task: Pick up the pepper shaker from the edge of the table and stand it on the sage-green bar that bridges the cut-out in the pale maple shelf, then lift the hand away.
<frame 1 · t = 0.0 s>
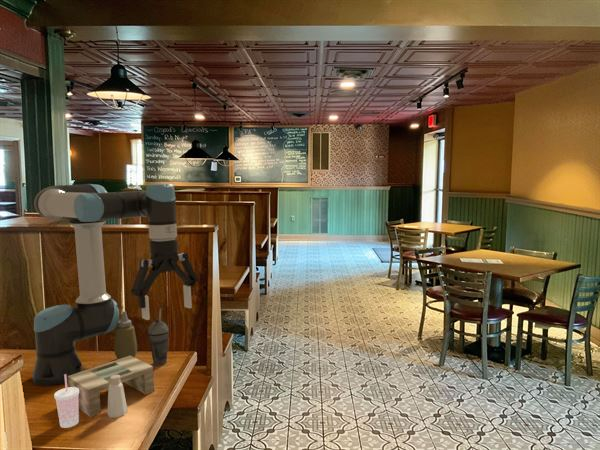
hand: (167, 313, 130), 28 cm above the table, tool pointing down, fingers open, 13 cm apart
squeeze bottle: (126, 359, 169), on the table, touching arm
cut-out shelf: (112, 396, 141), on the table
beverage cup: (160, 363, 165), on the table
pepper shaker: (117, 413, 130), on the table
beverage cup 2: (69, 423, 126), on the table
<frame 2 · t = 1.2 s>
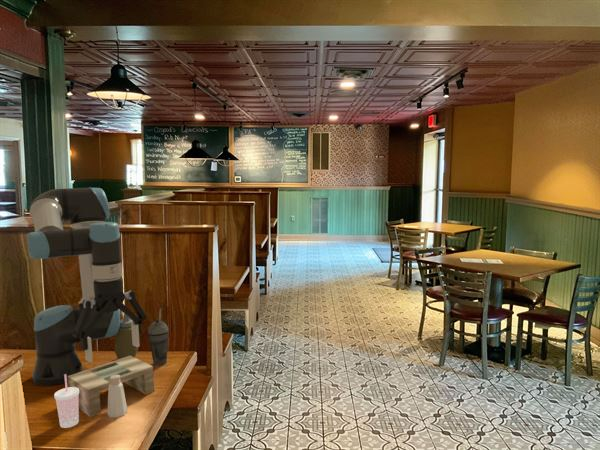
hand: (113, 353, 128), 18 cm above the table, tool pointing down, fingers open, 13 cm apart
nothing on the table moved.
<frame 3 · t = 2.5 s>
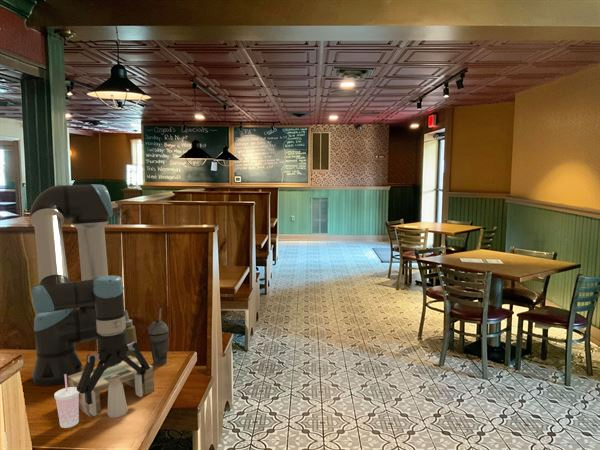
hand: (117, 404, 130), 3 cm above the table, tool pointing down, fingers open, 13 cm apart
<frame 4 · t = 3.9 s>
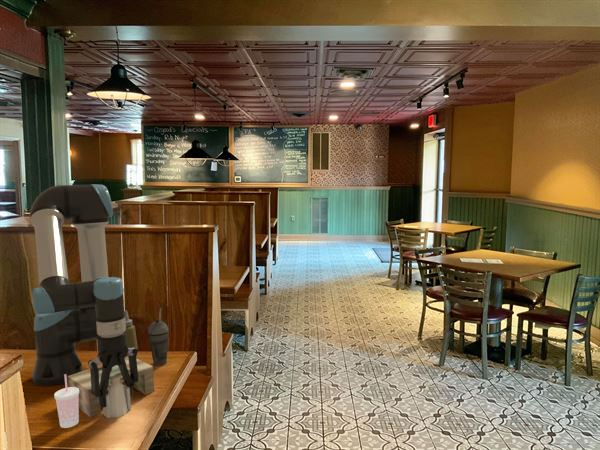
hand: (117, 412, 130), 0 cm above the table, tool pointing down, fingers closed on pepper shaker, 5 cm apart
pepper shaker: (117, 413, 130), on the table, touching gripper
everything else where it was.
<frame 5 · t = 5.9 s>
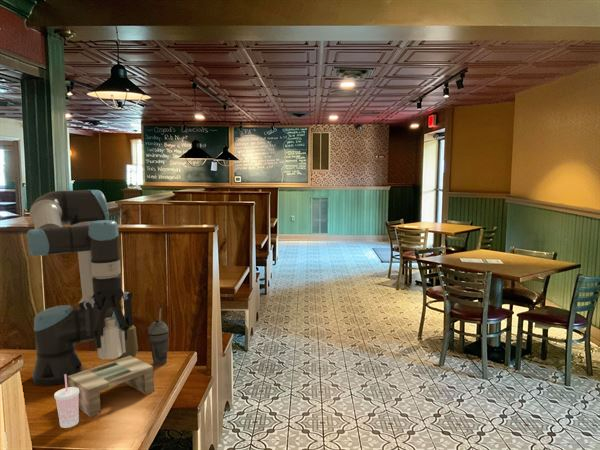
hand: (112, 354, 131), 16 cm above the table, tool pointing down, fingers closed on pepper shaker, 5 cm apart
squeeze bottle: (126, 359, 169), on the table
pepper shaker: (112, 356, 131), point 16 cm above the table, touching gripper
everything else where it was.
when the fingers open (10 cm above the table, at t = 8.4 s): pepper shaker drops 1 cm, resting on cut-out shelf.
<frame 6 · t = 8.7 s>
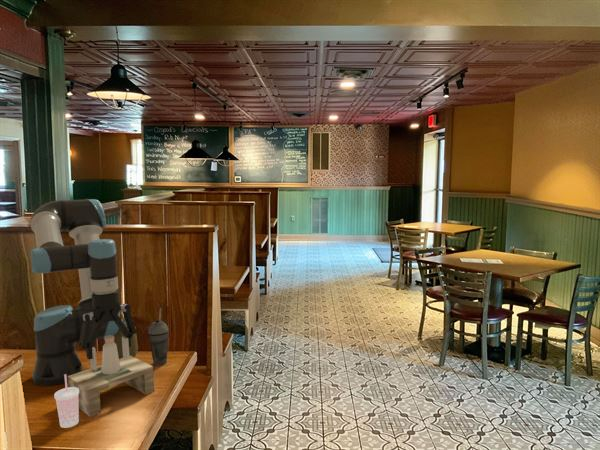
hand: (110, 363, 139), 11 cm above the table, tool pointing down, fingers open, 9 cm apart
squeeze bottle: (126, 359, 169), on the table, touching arm
pepper shaker: (110, 371, 140), point 8 cm above the table, touching cut-out shelf
everything else where it was.
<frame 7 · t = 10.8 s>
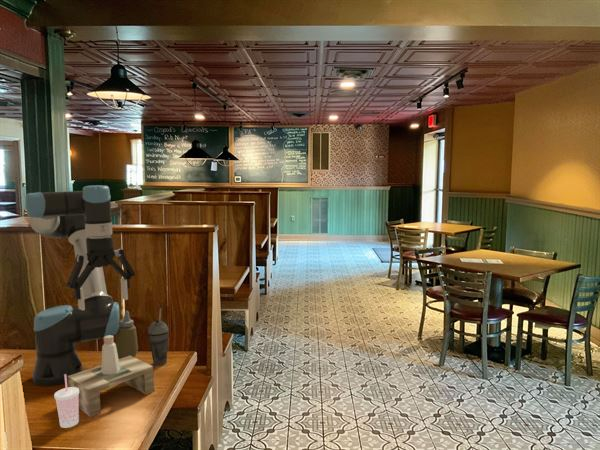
hand: (104, 304, 142), 28 cm above the table, tool pointing down, fingers open, 13 cm apart
nothing on the table moved.
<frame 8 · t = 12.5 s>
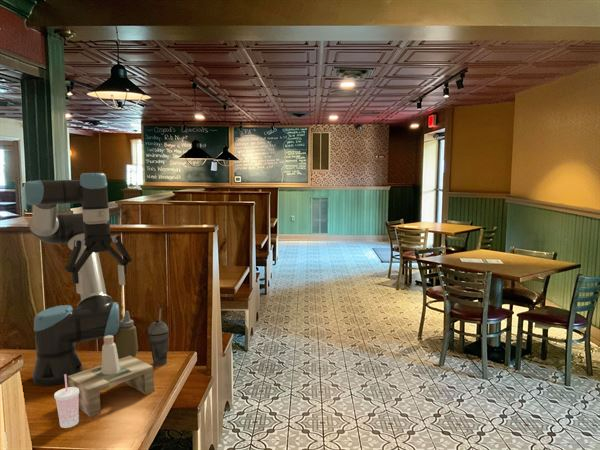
hand: (101, 289, 145), 32 cm above the table, tool pointing down, fingers open, 13 cm apart
nothing on the table moved.
at the end: pepper shaker inside the target area on the cut-out shelf (0.0 cm from its centre), point 7.8 cm above the cut-out shelf's base; pepper shaker tilted 0°; the gripper is holding nothing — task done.
